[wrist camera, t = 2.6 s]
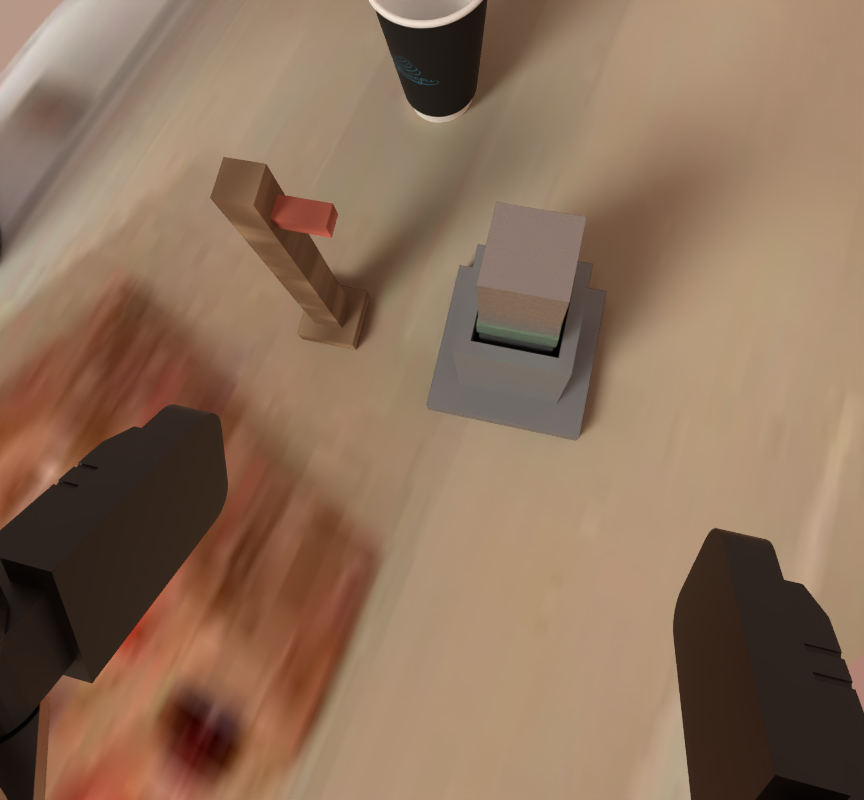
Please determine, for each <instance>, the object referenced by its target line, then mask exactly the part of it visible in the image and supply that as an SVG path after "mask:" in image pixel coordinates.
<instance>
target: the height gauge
mask: <svg viewBox="0 0 864 800" xmlns="http://www.w3.org/2000/svg"><path fill="white" fill-rule="evenodd" d="M210 198H211V199H212V201H213V202H214V203H215V204H216V205H217V207H218V208H219V209H220V210H221V211H222V213H223V214H224V215H225V216H226V217H227V218H228V220H229V221H230V222H231V223H232V224H233V226H234V227H235V228H236V229H237V230H238V232H239V233H240V234H241V235H242V236H243V238H244V239H245V240H246V241H247V242H248V244H249V245H250V246H251V247H252V248H253V250H254V251H255V252H256V253H257V254H258V256H259V257H260V258H261V259H262V260H263V262H264V263H265V264H266V265H267V266H268V268H269V269H270V270H271V271H272V272H273V274H274V275H275V276H276V277H277V278H278V280H279V281H280V282H281V283H282V284H283V286H284V287H285V288H286V289H287V290H288V292H289V293H290V294H291V295H292V296H293V298H294V299H295V300H296V301H297V302H298V304H299V305H300V306H301V307H302V308H303V310H304V311H303V315H302V318H301V322H300V326H299V329H298V333H297V334H298V335H299V336H300V337H301V338H302V339H305V340H310V341H315V342H320V343H325V344H330V345H335V346H340V347H345V348H350V349H355V350H356V348H357V344H358V340H359V336H360V333H361V329H362V325H363V321H364V317H365V314H366V310H367V306H368V302H369V298H370V296H369V294H368V292H367V291H366V290H361V289H356V288H350V287H345V286H340V285H339V283H338V282H337V280H336V278H335V277H334V275H333V274H332V272H331V270H330V269H329V267H328V265H327V264H326V262H325V260H324V259H323V257H322V255H321V254H320V252H319V250H318V249H317V247H316V245H315V244H314V242H313V241H312V239H311V237H310V236H309V234H314V235H319V236H325V237H330V238H332V234H333V231H334V227H335V224H336V220H337V216H338V213H337V211H336V209H335V207H334V205H333V204H332V203H326V202H320V201H314V200H308V199H303V198H297V197H291V196H285V194H284V193H283V191H282V189H281V188H280V186H279V184H278V183H277V181H276V179H275V178H274V176H273V175H272V173H271V171H270V170H269V168H268V166H267V165H266V164H263V163H257V162H251V161H245V160H238V159H232V158H226V157H223V160H222V163H221V167H220V170H219V173H218V176H217V179H216V182H215V185H214V188H213V191H212V194H211V197H210Z"/></svg>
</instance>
